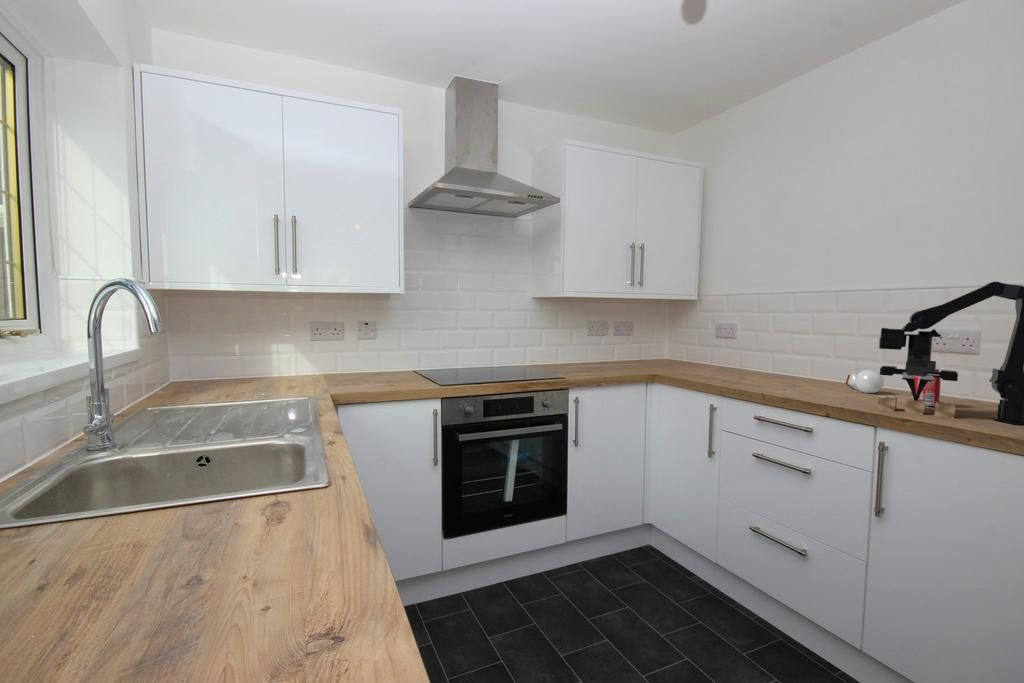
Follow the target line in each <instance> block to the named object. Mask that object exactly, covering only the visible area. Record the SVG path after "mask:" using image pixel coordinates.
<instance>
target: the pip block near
mask: <svg viewBox="0 0 1024 683" xmlns="http://www.w3.org/2000/svg"><path fill="white" fill-rule="evenodd" d="M955 411H956V403H952V402H949V401H939V402H936V403H935V407H934V416H935V415H939V416H947V417H953V418H952V419H955V413H956V412H955Z"/></svg>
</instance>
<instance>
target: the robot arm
mask: <svg viewBox="0 0 1024 683" xmlns="http://www.w3.org/2000/svg"><path fill="white" fill-rule="evenodd" d="M992 297H997V298H998V297H999V298H1003V299H1008V300H1012V301H1015V307H1014V308H1015V313H1016V318H1015V322H1014V325H1013V329H1012V333H1011V336H1010V339H1009V343H1008V346H1007V351H1006V353H1005V357H1004V361H1003V363H1002V365H1001V366H1000V368H999V369H997V368H994V367H993V368H992V375H991V378H990V379H989V380H988V381H989V382H990V383H991V388H992V389H993V390H994V391H995V393H998V394H999V397H1000V398H1001V399H999V404H997V415H996V418H992V420H993V421H995V422H996V421H997V422H1003V423H1005V424H1006V423H1007V424H1010V425H1016V426H1017V425H1019V426H1020V425H1022V426H1024V285H1017V284H1010V283H1004V282H1001V281H991V282H987V283H986V284H985V285H983V286H981V287H978V288H976V289H974V290H971V291H970V292H968V293H965V294H963V295H961V296H958V297H956V298H954V299H953V298H952V300H949V301H947V302H944V303H942V304H940V305H935V306H932V307H928V308H925V309H921V310H918V311H914V312H913V313H911V315H910V316H909V318H908V319H909V321H908V322H907V324H905V325H904V326H902V328H887V327H882V328H881V329H880V334H879V335H880V336H879V337H878V338H879V339H878V349H879V350H895V351H896V350H897V351H900V350H902V348H906V347H907V358H906V362H905V368H898V367H897V366H895V365H882V366H881V367H880V369H879V373H880V375H882V376H890V377H892V376H893V375H901V376H902V377H901V380H905V381H906V382H907V384H908V386H909V388H910V391H911V395H912V396H913V399H914V400H916V401H917V400H918V398H919V396H920V394H921V392H922V390H923V388H924V387H925V385H926V384H927V382H932V381H933V379H932V378H933V377H938V378H941V380H942V381H947V382H948V381H950V382H958V379H959V377H958V376H959V372H958V371H957V370H950V369H948V370H947V369H941V370H940V372H935V370H936V368H937V361H936V360H931V359H932V349H933V348H932V347H933V346H932V345H933V338H941V337H942V335H941V334H940V333H938V332H937V329H935V328H932V329H931V330H930V331H929V330H928V329H929V328H931V327H933V326H935V325H936V324H938V323H939V322H941V321H942V320H944V319H946V318H947V317H948V316H950V315H952V314H955V313H957V312H960V311H962V310H965V309H966V308H969V307H971V306H974V305H977V304H979V303H980V302H983V301H985V300H987V299H989V298H992ZM926 329H927V330H928V331H927V330H926ZM917 330H919V331H918V332H917V333H916V334H913V332H915V331H917ZM907 337H908V342H907ZM907 343H908V345H907ZM914 376H921V377H922V378H921V379H920V382H919V386H918V390H917V394H916V385H915V377H914Z"/></svg>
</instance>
